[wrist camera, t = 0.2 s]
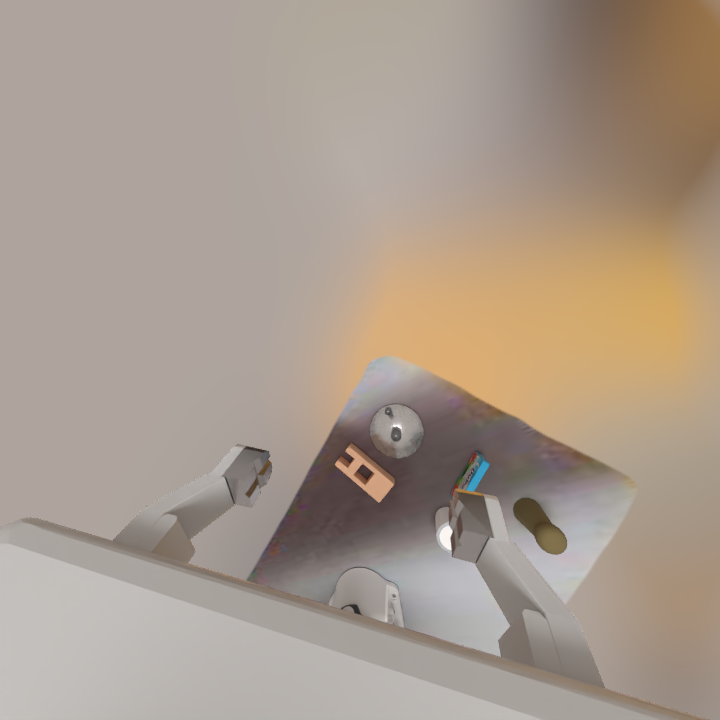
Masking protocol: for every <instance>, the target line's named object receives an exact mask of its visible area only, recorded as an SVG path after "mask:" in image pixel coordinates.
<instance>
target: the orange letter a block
mask: <svg viewBox="0 0 720 720" xmlns="http://www.w3.org/2000/svg"><path fill="white" fill-rule="evenodd" d="M346 452H347V453H348V454H349V455H351V456H352V457H353V458H354V459H353V460H352V461H351V463H349V462H348V461H347V460H345V459H344V458H343V457H342V456H340V458H339V459H338V460H337V462H336V463H335V466H337V467H338V468H339V469H340V470H341V471H343V472H344V473H345V474H346V475H347V476H348V477H350V478H351V479H352V480H353V481H354V482H355V483H357V484H358V485H359V486H360V487H361V488H362V489H364V490H365V491H366V492H367V493H368V494H369V495H371V496H372V497H373V498H374V499H375V500H376V501H378V502H379V503H380V501H381V500H382V499H383V498H384V496H385V495H386V494H387V493H388V492H389V490H390V489H391V488H392V487H393V485H394V482H395V478H393V477H392V476H391V475H390V474H389V473H387V472H386V471H385V470H384V469H383V468H381V467H380V466H379V465H378V464H377V463H375V462H374V461H373V460H372V459H371V458H369V457H368V456H367V455H366V454H364V453H363V452H362V451H361V450H360V449H358V448H357V447H356V446H355V445H354V444H352V443H351V444H350V445H349V446H348V448H347V449H346ZM362 463H363V464H364V465H365V466H366V467H367V468H369V469H370V470H371V471H372V472H373V473H372V474H371V475H370V477H369V478H368V479H366V478H364V477H363V476H362V475H361V474H360V473H359V472H357V470H358V468H359V467H360V466H361V465H362Z"/></svg>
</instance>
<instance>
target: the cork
mask: <svg viewBox="0 0 720 720" xmlns="http://www.w3.org/2000/svg"><path fill="white" fill-rule="evenodd" d="M513 512H514V515H515V517H516V518H517V519H518V520H519V521H520V522H521V523H522V524H523V525H524V526H525V527H526V528H527V529H528V530H529V531H530V532H531V533H532V534H533V535H534V536H535V539H536V542H537V543H538V545H539V546H540V547H541V548H542V549H543V550H544V551H546V552H547V553H550V554H556V555H557V554H561V553H563V552H564V551H565V550H566V547H567V540H566V537H565V535H564V533H563V532H562V531H561V530H560V529H559V528H558V527H556V526H555V525H553V524H552V523H551V522H550V520H549V519H548V517H547V516H546V514H545V513H544V511H543V510H542V508H541V507H540V505H539V504H538V503H537V502H536V501H535V500H533V499H530V498H522V499H520V500H518V501H517V502H516V503H515V504H514V508H513Z"/></svg>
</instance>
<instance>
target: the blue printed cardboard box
mask: <svg viewBox="0 0 720 720" xmlns="http://www.w3.org/2000/svg"><path fill="white" fill-rule="evenodd" d="M488 467H489V463H488V461H487V460H486V459H485V458H484V457H483V455H482V454H480V453H478V452H476V451H475V452H474V454H473V456H472V457H471V459H470V461H469V462H468V464H467V466H466V467H465V469H464V471H463V472H462V474H461V476H460V478H459V479H458V481H457V483H456V484H455V486H454V488H453V489H452V491H451V495H452V498H453V499H454V497H453V493H454V490H455V489H462V490H467V491H472V492H474V490H475V488H476V487H477V485H478V483H479V482H480V480H481V478H482V477H483V475H484V473H485V472H486V470H487V468H488Z"/></svg>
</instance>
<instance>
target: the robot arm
mask: <svg viewBox="0 0 720 720" xmlns="http://www.w3.org/2000/svg"><path fill="white" fill-rule="evenodd" d="M269 457H270V454H269V451H266V450H262V449H257V448H253V447H248V446H244V445H239V444H237V445H235V446H234V447H233V448H232V449H231V450H230V451H229V452H228V454H227V455H226V456H225V457H224V458H223V459H222V461H221V462H220V463H219V464H218V465H217V467H216V468H215V469H214V470H213V471H212V473H211V474H210V473H207V474H205V475H203V476H201V477H199V478H198V479H196V480H194V481H192V482H190V483H188V484H187V485H185V486H183V487H181V488H179V489H177V490H175V491H174V492H172V493H170V494H168V495H166V496H164V497H162V498H160V499H159V500H157V501H155V502H153V503H151V504H149V505H147V506H146V507H145V508H144V509H143V510H142V511H141V512H140V513H139V514H138V515H137V516H136V517H135V518H134V519H133V520H132V521H131V522H130V523H129V524H128V525H127V526H126V527H125V528H124V529H123V530H122V531H121V532H120V534H118V535H117V536H116V538H115V539H114V540H113V541H111V540H108V539H105V538H101V537H98V536H95V535H91V534H88V533H85V532H81V531H78V530H75V529H71V528H68V527H64V526H61V525H58V524H55V523H51V522H48V521H44V520H41V519H38V518H31V517H30V518H23V519H19V520H17V521H14V522H12V523H9V524H6V525H4V526H1V527H0V720H709V719H706V718H702V717H699V716H696V715H692V714H689V713H686V712H682V711H679V710H676V709H673V708H669V707H666V706H663V705H659V704H656V703H653V702H649V701H646V700H643V699H639V698H636V697H633V696H630V695H626V694H623V693H620V692H616V691H612V690H609V689H606V688H605V686H604V684H603V682H602V679H601V676H600V674H599V671H598V669H597V666H596V664H595V661H594V659H593V656H592V653H591V651H590V648H589V646H588V643H587V641H586V638H585V636H584V633H583V631H582V628H581V626H580V623H579V621H578V620H577V619H576V618H575V616H574V615H573V614H572V613H571V611H570V610H569V609H568V608H567V607H566V605H565V604H564V603H563V602H562V600H561V599H560V598H559V597H558V595H557V594H556V593H555V592H554V591H553V589H552V588H551V587H550V586H549V584H548V583H547V582H546V581H545V580H544V578H543V577H542V576H541V575H540V573H539V572H538V571H537V570H536V569H535V567H534V566H533V565H532V564H531V562H530V561H529V560H528V559H527V558H526V556H525V555H524V554H523V553H522V551H521V550H520V549H519V548H518V547H517V545H516V544H515V543H512V542H510V539H509V535H508V532H507V528H506V525H505V521H504V518H503V514H502V511H501V507H500V504H499V500H498V499H497V497H496V496H491V495H486V494H482V493H478V492H472V491H467V490H462V489H455V490H454V493H453V497H454V499H453V500H451V502H450V505H449V526H450V528H451V529H452V531H453V532H452V535H451V537H450V540H451V550H452V557H454V558H458V559H461V560H465V561H469V562H472V563H476V566H477V568H478V570H479V572H480V573H481V575H482V577H483V579H484V580H485V582H486V584H487V586H488V587H489V589H490V591H491V593H492V594H493V596H494V598H495V600H496V601H497V603H498V605H499V607H500V608H501V610H502V612H503V614H504V615H505V617H506V619H507V621H508V623H509V624H510V627H509V628H508V629H507V630H506V632H505V633H504V634H503V635H502V636H501V638H500V639H499V640H498V642H499V648H500V654H501V657H499V656H496V655H493V654H489V653H486V652H483V651H479V650H476V649H473V648H469V647H466V646H463V645H459V644H456V643H452V642H449V641H446V640H442V639H439V638H436V637H432V636H429V635H426V634H422V633H419V632H416V631H412V630H409V629H406V628H405V626H404V620H403V614H402V608H401V602H400V596H399V590H398V587H397V585H396V584H394V583H392V582H389V581H386V580H384V579H383V578H382V577H381V576H380V575H378V574H377V573H375V572H374V571H372V570H369V569H366V568H353V569H350V570H348V571H346V572H345V573H344V574H343V575H342V576H341V577H340V578H339V580H338V582H337V585H336V589H335V592H334V594H333V595H332V596H331V598H330V600H329V605H326V604H322V603H319V602H315V601H312V600H309V599H305V598H302V597H299V596H295V595H292V594H289V593H285V592H282V591H279V590H275V589H272V588H269V587H265V586H262V585H259V584H255V583H252V582H249V581H245V580H242V579H239V578H235V577H232V576H228V575H225V574H222V573H219V572H215V571H212V570H208V569H205V568H201V567H198V566H195V565H192V564H188V562H189V561H190V559H191V558H192V556H193V555H194V553H195V548H194V546H193V545H192V543H191V541H190V539H191V538H193V537H194V536H195V535H196V534H198V533H199V532H200V531H202V530H203V529H204V528H205V527H207V526H208V525H209V524H211V523H212V522H213V521H215V520H216V519H217V518H218V517H220V516H221V515H222V514H224V513H225V512H226V511H227V510H229V509H230V508H231V507H232V506H234V504H237V505H241V506H246V507H251V508H252V507H253V506H254V504H255V502H256V500H257V499H258V497H259V496H260V494H261V491H260V488H261V487H263V486H264V485H266V484H267V482H268V480H269V478H270V475H271V472H272V463H271V462H270V461H269V460H268V459H269ZM393 594H395V595H393Z"/></svg>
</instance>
